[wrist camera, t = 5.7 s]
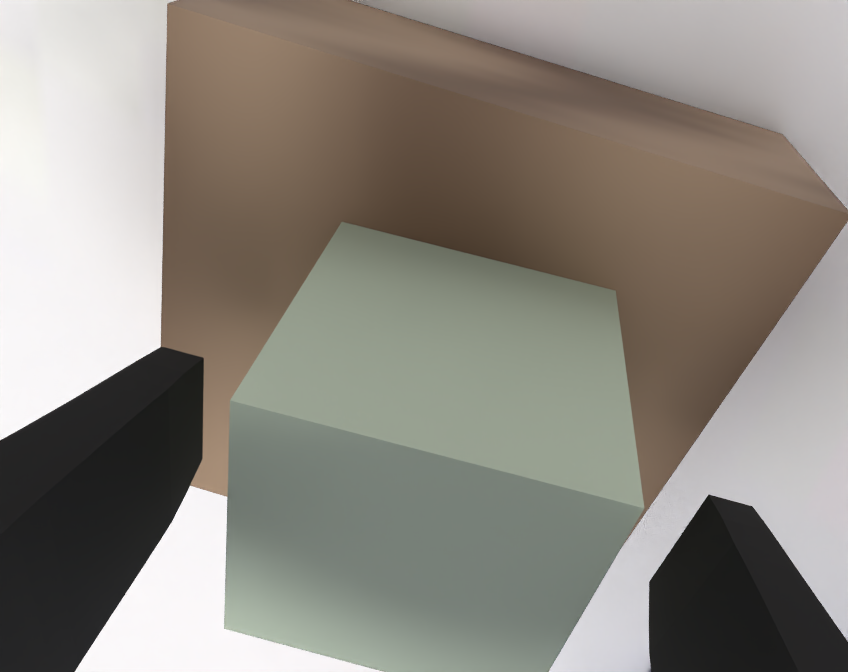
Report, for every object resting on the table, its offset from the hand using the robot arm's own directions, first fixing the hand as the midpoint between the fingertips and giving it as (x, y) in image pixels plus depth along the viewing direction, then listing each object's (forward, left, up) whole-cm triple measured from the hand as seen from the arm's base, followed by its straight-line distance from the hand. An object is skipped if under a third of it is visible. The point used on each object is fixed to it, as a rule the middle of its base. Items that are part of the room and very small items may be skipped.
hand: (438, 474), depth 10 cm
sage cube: (0, 0, -3) cm, 3 cm away
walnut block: (+1, +1, -7) cm, 7 cm away
